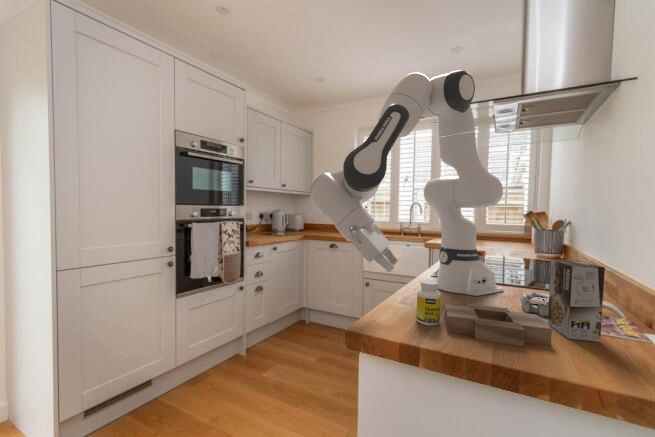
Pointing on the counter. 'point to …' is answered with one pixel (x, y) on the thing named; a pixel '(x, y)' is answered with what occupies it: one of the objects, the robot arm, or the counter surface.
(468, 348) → the counter surface
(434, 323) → the supplement bottle
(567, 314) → the coffee box
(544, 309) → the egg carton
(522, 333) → the walnut cross stand
